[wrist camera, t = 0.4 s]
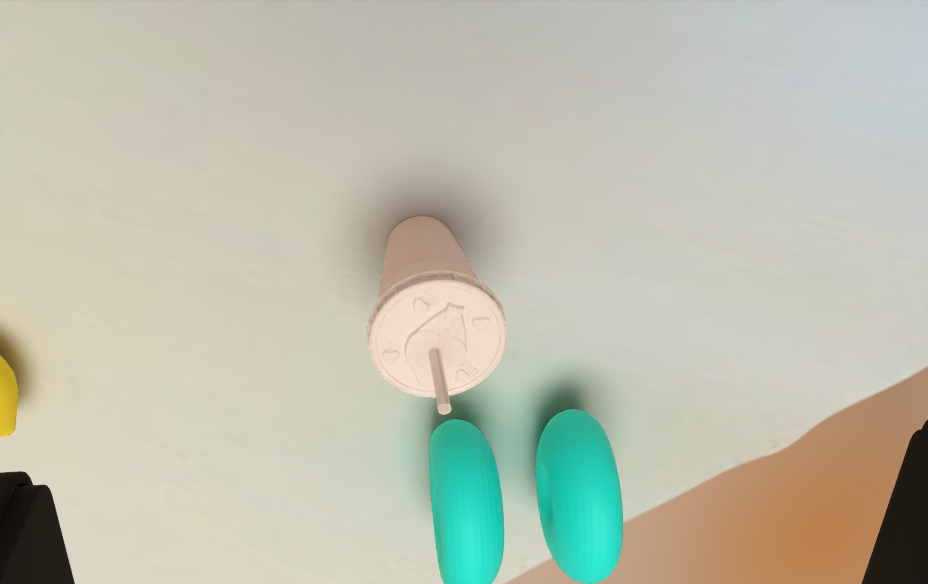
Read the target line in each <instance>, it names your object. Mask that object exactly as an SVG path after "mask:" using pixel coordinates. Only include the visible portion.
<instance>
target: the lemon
mask: <svg viewBox="0 0 928 584" xmlns="http://www.w3.org/2000/svg"><path fill="white" fill-rule="evenodd" d="M18 395H19V392H18V387H17V383H16V378H15V374H14V372H13V370H12V369H11V368H10V366H9V365H8V363H7V362H6V361H5V360H4V359H3V358H2V357H1V355H0V437H3V436H7V435H10V434H12V433H13V432H14V431H15V426H16V414H17V404H18Z"/></svg>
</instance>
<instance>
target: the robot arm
mask: <svg viewBox="0 0 928 584" xmlns="http://www.w3.org/2000/svg"><path fill="white" fill-rule="evenodd" d="M0 584H75V583H74V579H73V575H72V571H71V567H70V563H69V560H68V556H67V552H66V548H65V544H64V540H63V536H62V532H61V528H60V524H59V520H58V516H57V512H56V509H55V505H54V501H53V497H52V494H51V491H50V489H49V488H48V486H47V485H33V484H32V481H31V478H30V477H29V476H28V474H27V473H25V472H5V473H0ZM862 584H928V420H927V421H926V422H925V424H924V426H923V428H922V429H921V430H918V431H916V432H915V433H914V434H913V436H912V438H911V439H910V442H909V445H908V448H907V451H906V454H905V457H904V460H903V463H902V466H901V469H900V472H899V475H898V478H897V481H896V484H895V487H894V490H893V493H892V496H891V498H890V501H889V504H888V507H887V510H886V514H885V517H884V519H883V522H882V525H881V528H880V531H879V534H878V537H877V540H876V543H875V546H874V549H873V552H872V555H871V558H870V561H869V564H868V567H867V569H866V572H865V575H864V578H863V581H862Z"/></svg>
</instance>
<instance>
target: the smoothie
mask: <svg viewBox="0 0 928 584" xmlns="http://www.w3.org/2000/svg"><path fill="white" fill-rule="evenodd" d="M367 335H368V345H369V349H370V354H371V358H372V361H373V363H374V365H375V367H376V369H377V370H378V372H379V373H380V374H381V375H382V377H383V378H384V379H385V380H386V381H388V382H389V383H390V384H391V385H393V386H394V387H396V388H398V389H400V390H402V391H404V392H406V393H409V394H412V395H416V396H422V397H436V401H437V407H438V412H439V413H440V414H443V415H445V414H448V413H450V411H451V404H450V399H449V396H451V395H455V394H458V393H461V392H464V391H466V390H468V389H471V388H472V387H474V386H476V385H477V384H479V383H480V382H482V381H483V380H484V379H485V378H487V377H488V376H489V375H490V374H491V373H492V371H493V370H494V369H495V368H496V366H497V365H498V363H499V362H500V360H501V358H502V356H503V353H504V350H505V347H506V342H507V328H506V323H505V316H504V313H503V309H502V306H501V303H500V302H499V300H498V299H497V297H496V296H495V294H494V293H493V291H492V290H491V289H489V288H488V287H487V286H486V285H485V284H484V283H482V282H481V281H480V280H479V279H478V277H477V276H476V274H475V272H474V271H473V269H472V267H471V266H470V264H469V262H468V260H467V259H466V257H465V255H464V254H463V252H462V250H461V249H460V247H459V245H458V244H457V242H456V240H455V238H454V237H453V235H452V233H451V232H450V230H449V229H448V228H447V226H446V225H445V224H443V223H442V222H441V221H439V220H437V219H435V218H432V217H427V216H416V217H412V218H409V219H406V220H404V221H402V222H401V223H399V224H398V225H397V226H396V227H395V228H394V229H393V231H392V232H391V234H390V236H389V238H388V241H387V247H386V253H385V260H384V266H383V273H382V279H381V286H380V292H379V298H378V301H377V303H376V305H375V306H374V308H373V310H372V311H371V314H370V318H369V322H368V326H367Z"/></svg>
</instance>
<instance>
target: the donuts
mask: <svg viewBox="0 0 928 584" xmlns="http://www.w3.org/2000/svg"><path fill="white" fill-rule="evenodd" d="M429 463H430V485H431V499H432V512H433V523H434V532H435V541H436V549H437V557H438V563H439V569H440V574H441V577H442V580H443V582H444V584H492V582H493V581H494V579H495V578H496V576H497V573H498V571H499V568H500V565H501V562H502V557H503V549H504V516H503V504H502V495H501V487H500V481H499V475H498V470H497V466H496V462H495V458H494V455H493V452H492V450H491V447H490V445H489V443H488V441H487V440H486V438H485V437H484V435H483V434H482V432H481V431H480V430H479V429H478V428H476V427H475V426H474V425H472V424H471V423H469V422H467V421H464V420H459V419H453V420H448V421H445V422H444V423H442V424H440V425H439V426H438V427H437V428H436V429H435V431H434V432H433V434H432V437H431V441H430V448H429ZM536 489H537V500H538V507H539V514H540V519H541V524H542V528H543V533H544V536H545V540H546V543H547V545H548V548H549V550H550V553H551V555H552V557H553V558H554V560H555V561H556V563H557V564H558V566H559V567H560V568H561V569H562V571H563V572H565V573H566V574H567V575H568V576H569V577H571V578H572V579H574V580H576V581H578V582H581V583H586V584H592V583H598V582H600V581H603V580H604V579H606V578H607V577H608V576H609V575H610V574H611V573H612V572H613V570H614V569H615V567H616V565H617V563H618V560H619V557H620V553H621V547H622V538H623V511H622V498H621V490H620V483H619V477H618V472H617V468H616V463H615V459H614V455H613V452H612V449H611V446H610V443H609V440H608V438H607V436H606V434H605V432H604V430H603V428H602V426H601V425H600V423H599V422H598V421H597V420H596V419H595V418H594V417H593V416H592V415H590V414H589V413H587V412H585V411H583V410H578V409H568V410H565V411H562V412H560V413H558V414H556V415H555V416H554V417H553V418H552V419H551V420H550V421H549V422H548V424H547V425H546V427H545V428H544V430H543V432H542V435H541V438H540V440H539V444H538V449H537V456H536Z"/></svg>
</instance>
